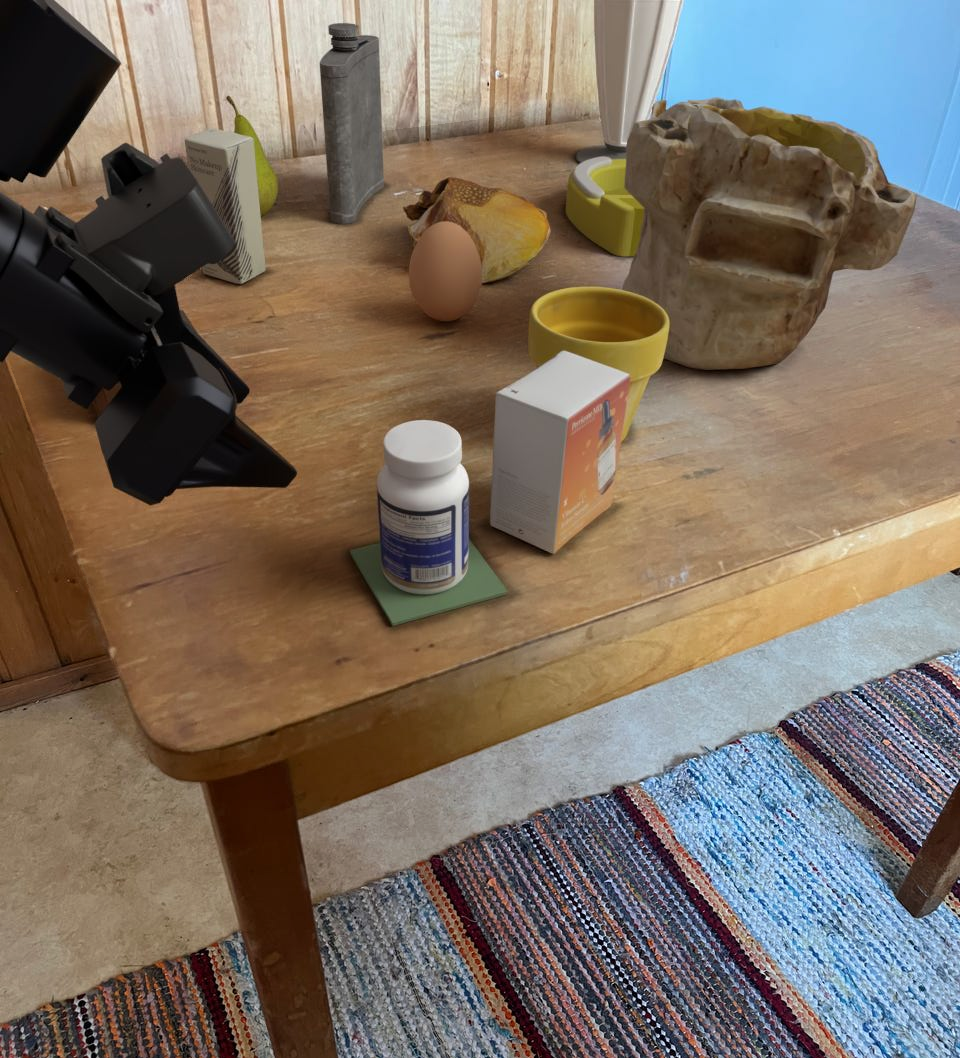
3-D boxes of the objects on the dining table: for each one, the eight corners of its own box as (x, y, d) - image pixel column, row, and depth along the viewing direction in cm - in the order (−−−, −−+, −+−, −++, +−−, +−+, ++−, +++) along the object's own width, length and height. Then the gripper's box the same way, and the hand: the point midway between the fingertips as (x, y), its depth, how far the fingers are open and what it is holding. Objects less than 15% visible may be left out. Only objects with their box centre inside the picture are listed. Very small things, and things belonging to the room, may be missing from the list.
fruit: (276, 226, 109) (263, 107, 101) (224, 224, 109) (207, 105, 101) (285, 208, 113) (273, 92, 105) (234, 206, 113) (219, 90, 105)
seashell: (566, 195, 107) (542, 219, 95) (551, 265, 111) (525, 298, 99) (421, 158, 108) (379, 177, 96) (411, 229, 112) (369, 256, 100)
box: (201, 275, 99) (178, 137, 90) (229, 260, 102) (209, 125, 93) (243, 286, 97) (224, 147, 88) (270, 271, 100) (254, 135, 91)
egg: (444, 341, 90) (445, 243, 84) (394, 317, 93) (392, 221, 87) (495, 319, 94) (499, 224, 87) (445, 297, 97) (446, 203, 91)
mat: (392, 626, 61) (392, 622, 61) (350, 553, 66) (349, 550, 66) (507, 594, 64) (507, 591, 64) (457, 526, 69) (458, 523, 69)
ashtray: (582, 256, 105) (586, 208, 102) (557, 190, 121) (560, 146, 117) (731, 256, 107) (741, 209, 103) (688, 191, 122) (695, 147, 118)
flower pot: (584, 384, 85) (597, 272, 78) (676, 433, 79) (699, 318, 72) (496, 423, 80) (501, 307, 73) (587, 478, 74) (603, 358, 67)
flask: (320, 221, 111) (306, 38, 98) (358, 180, 121) (349, 10, 109) (351, 225, 110) (341, 41, 98) (386, 183, 120) (381, 12, 108)
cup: (607, 179, 124) (630, -25, 109) (559, 153, 131) (574, -42, 117) (680, 167, 128) (711, -30, 114) (629, 142, 136) (652, -46, 121)
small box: (553, 557, 67) (566, 420, 60) (487, 526, 69) (493, 391, 62) (614, 505, 72) (634, 372, 64) (551, 477, 74) (563, 347, 67)
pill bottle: (415, 533, 68) (412, 404, 61) (484, 563, 66) (490, 433, 59) (363, 576, 64) (354, 444, 57) (434, 609, 62) (434, 476, 55)
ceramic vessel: (895, 207, 95) (980, 1, 71) (835, 438, 93) (902, 305, 68) (666, 170, 100) (672, -35, 76) (602, 389, 97) (587, 249, 73)
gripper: (134, 177, 34) (428, 402, 45) (61, 53, 47) (306, 253, 58) (-35, 420, 37) (281, 575, 48) (-62, 242, 49) (195, 399, 60)
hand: (267, 435), depth 54 cm, fingers open, 9 cm apart
